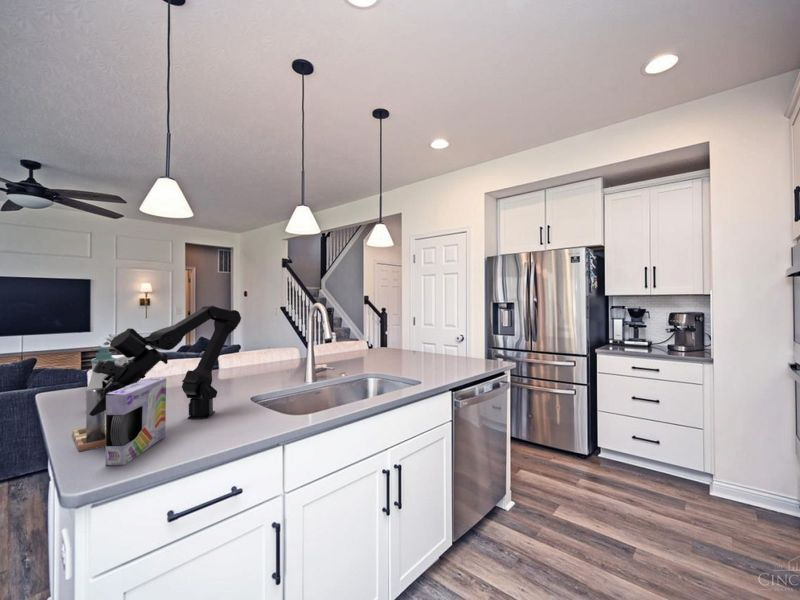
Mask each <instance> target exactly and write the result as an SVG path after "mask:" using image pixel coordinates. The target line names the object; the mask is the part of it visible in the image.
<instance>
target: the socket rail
mask: <svg viewBox="0 0 800 600" xmlns="http://www.w3.org/2000/svg"><path fill="white" fill-rule="evenodd" d="M72 437H73V440H74V442H75V445H76V447H77V451H78V450H79V451H81V452H84V451H83V450H85V451H88V450H87V449H89V450H92V449H91V448H94V449H97V448H96V447H98V448H101V446H103V447H105V446H106V424H105V439H103V440H99V441H94V442H89V443H86V426H85V427H80V428H75V429H72ZM79 451H78V452H79Z"/></svg>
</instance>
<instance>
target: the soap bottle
mask: <svg viewBox="0 0 800 600" xmlns="http://www.w3.org/2000/svg"><path fill="white" fill-rule="evenodd" d="M90 351H98V352H96V353H95V359H94V358H93V359H94V360H92V359H91V360H90V363H91V375H90V376H91V377H90V380H89V382H88V386H87V390H89V389H95V388H102V380H103V381H105V380H104V379H103V378H104V377H105V376H106V374H102V373H96V372H93V369H94V367H95V366H96V364H97V362H98V360H104V361H108V360H109V361H114V362H115V360H116V358H114V357H112V355H113V353H112V352H111V351H110V347H108V346H107V347H105V346H103V347H95V348H91V349H90ZM106 381H107V380H106ZM106 381H105V382H106ZM105 413H106V410H105Z"/></svg>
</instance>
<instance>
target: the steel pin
mask: <svg viewBox="0 0 800 600" xmlns="http://www.w3.org/2000/svg"><path fill="white" fill-rule="evenodd" d="M103 396H104V388H95V389H89V390H86V391H85V414H86V415H85V419H86V420H85V427H86V443H89V442H94V441H99V440H103V439H105V425H106V412H105V411H103V412H101V413H99V414H97V415H95V416H91V415H90V414H89V413H90V412H91V411H92V409H93V408H94V407H95V406H96V404H97V403H98V402H99V401H100V400H101V398H102V397H103Z"/></svg>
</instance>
